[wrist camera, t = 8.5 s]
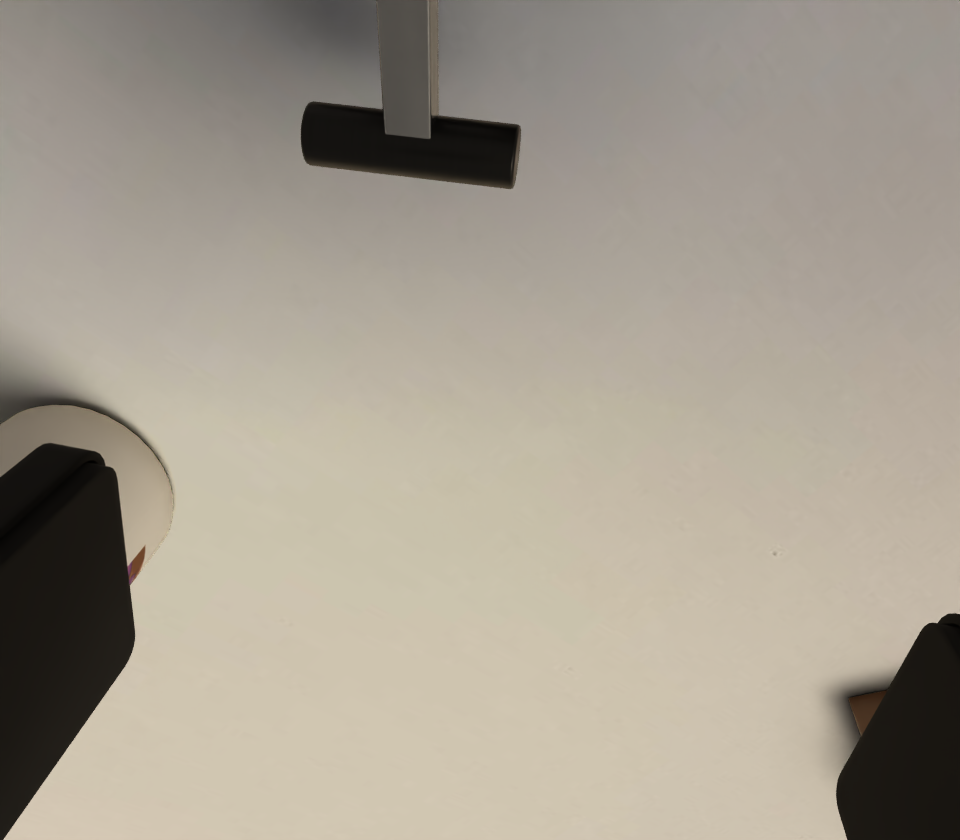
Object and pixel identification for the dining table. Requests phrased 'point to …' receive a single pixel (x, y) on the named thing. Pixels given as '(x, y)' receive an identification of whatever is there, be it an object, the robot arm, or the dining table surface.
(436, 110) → the lever
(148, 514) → the milk bottle
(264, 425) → the dining table surface
